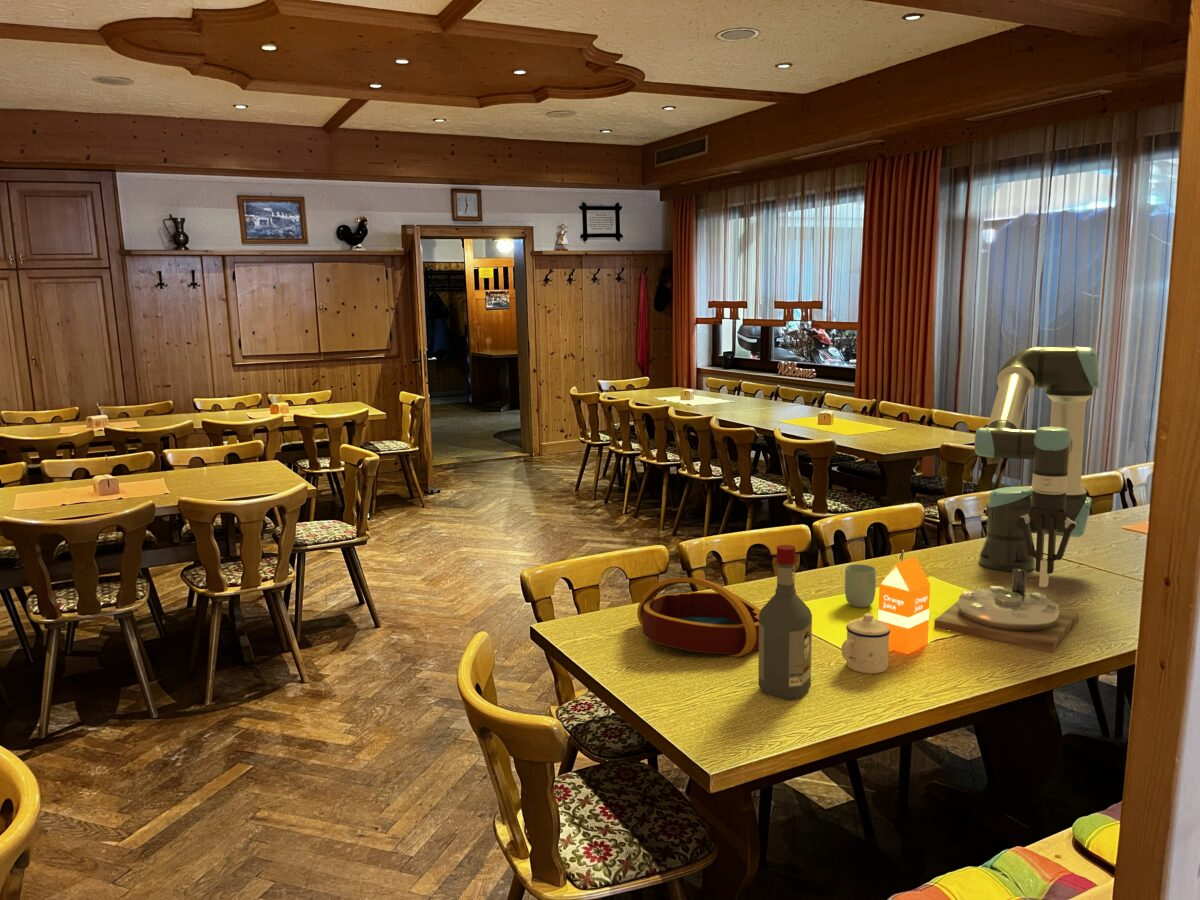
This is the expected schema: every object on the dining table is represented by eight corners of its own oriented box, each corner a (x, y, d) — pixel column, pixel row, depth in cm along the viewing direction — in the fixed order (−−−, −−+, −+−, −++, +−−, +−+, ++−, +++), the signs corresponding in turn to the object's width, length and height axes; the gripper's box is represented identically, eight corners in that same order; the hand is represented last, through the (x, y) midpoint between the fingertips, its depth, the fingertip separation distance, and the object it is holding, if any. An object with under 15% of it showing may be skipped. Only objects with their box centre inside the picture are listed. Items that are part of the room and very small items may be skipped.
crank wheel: (1045, 637, 196) (1047, 599, 194) (945, 617, 210) (947, 582, 208) (1068, 611, 212) (1070, 575, 211) (974, 594, 226) (975, 561, 225)
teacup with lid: (866, 655, 194) (867, 605, 192) (898, 668, 186) (900, 616, 185) (826, 666, 188) (827, 615, 186) (858, 681, 180) (859, 627, 179)
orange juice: (877, 644, 200) (879, 560, 197) (898, 635, 205) (900, 553, 202) (907, 654, 194) (910, 567, 191) (928, 644, 200) (931, 560, 196)
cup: (841, 607, 225) (842, 570, 224) (847, 599, 232) (848, 562, 231) (872, 612, 222) (873, 574, 220) (877, 602, 228) (878, 566, 227)
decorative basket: (790, 653, 202) (796, 589, 202) (706, 669, 183) (712, 599, 183) (684, 619, 228) (689, 562, 227) (601, 631, 209) (606, 569, 208)
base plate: (968, 599, 229) (968, 591, 229) (1078, 619, 213) (1079, 610, 213) (934, 627, 210) (934, 618, 209) (1052, 652, 193) (1053, 642, 193)
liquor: (754, 693, 176) (755, 549, 171) (772, 677, 184) (773, 539, 179) (797, 703, 171) (799, 555, 166) (814, 686, 178) (816, 544, 174)
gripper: (1016, 491, 211) (1011, 584, 214) (1076, 497, 203) (1070, 594, 206) (1023, 486, 217) (1018, 577, 220) (1082, 491, 209) (1076, 586, 212)
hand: (1043, 585), depth 213 cm, fingers closed
